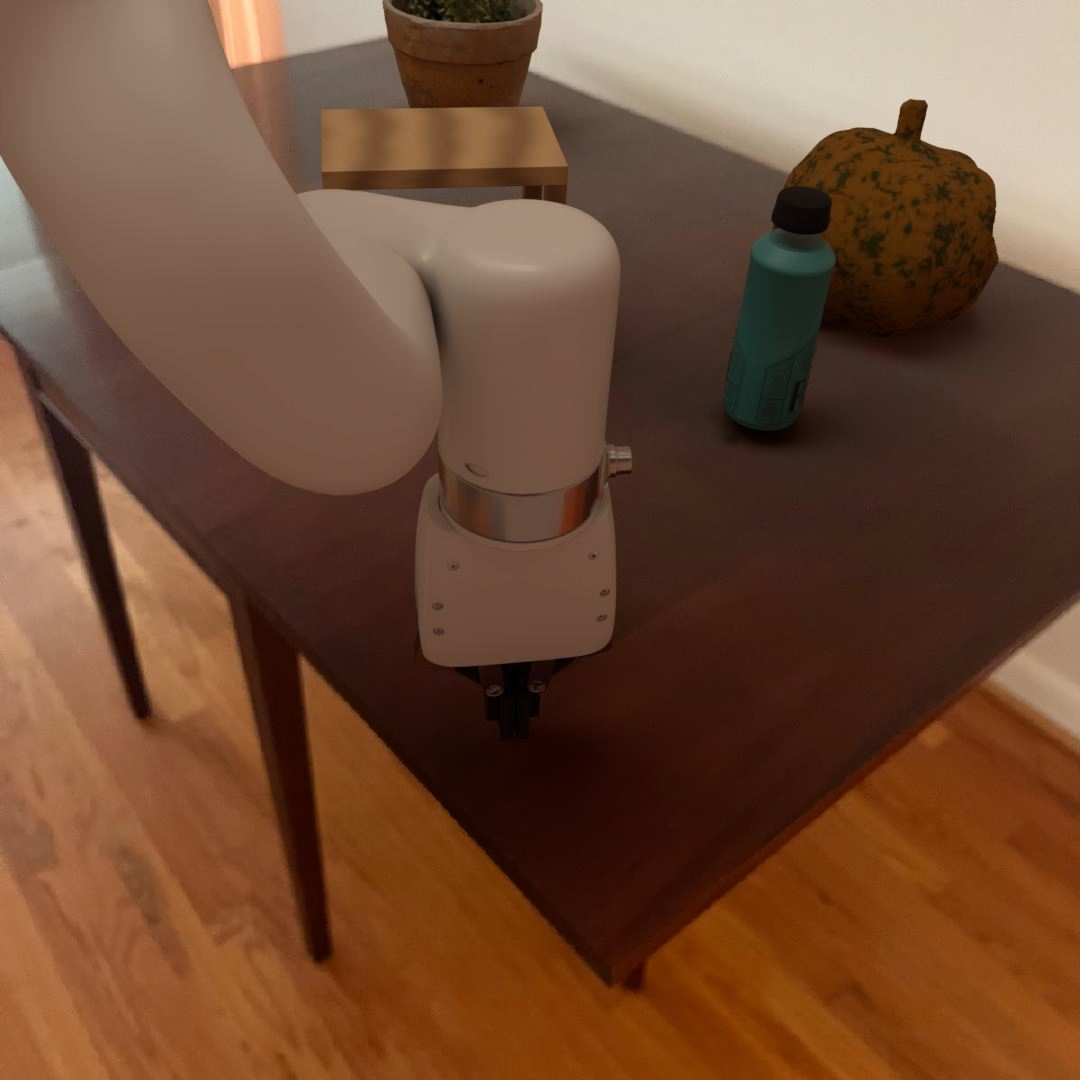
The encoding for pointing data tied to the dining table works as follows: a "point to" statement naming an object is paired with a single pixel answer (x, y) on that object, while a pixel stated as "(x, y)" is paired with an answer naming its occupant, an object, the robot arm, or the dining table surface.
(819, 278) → the beverage bottle
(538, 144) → the desk
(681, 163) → the dining table surface
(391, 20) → the potted plant
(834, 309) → the decorative pumpkin
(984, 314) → the dining table surface
